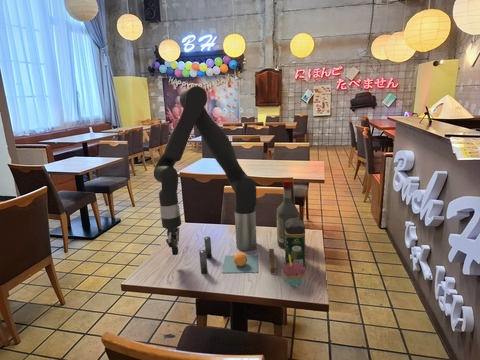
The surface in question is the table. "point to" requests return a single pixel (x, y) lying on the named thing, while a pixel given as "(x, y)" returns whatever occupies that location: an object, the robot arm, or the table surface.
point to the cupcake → (293, 272)
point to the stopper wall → (272, 261)
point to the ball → (240, 259)
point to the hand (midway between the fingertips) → (175, 254)
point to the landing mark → (247, 268)
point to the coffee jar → (295, 241)
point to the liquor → (285, 213)
